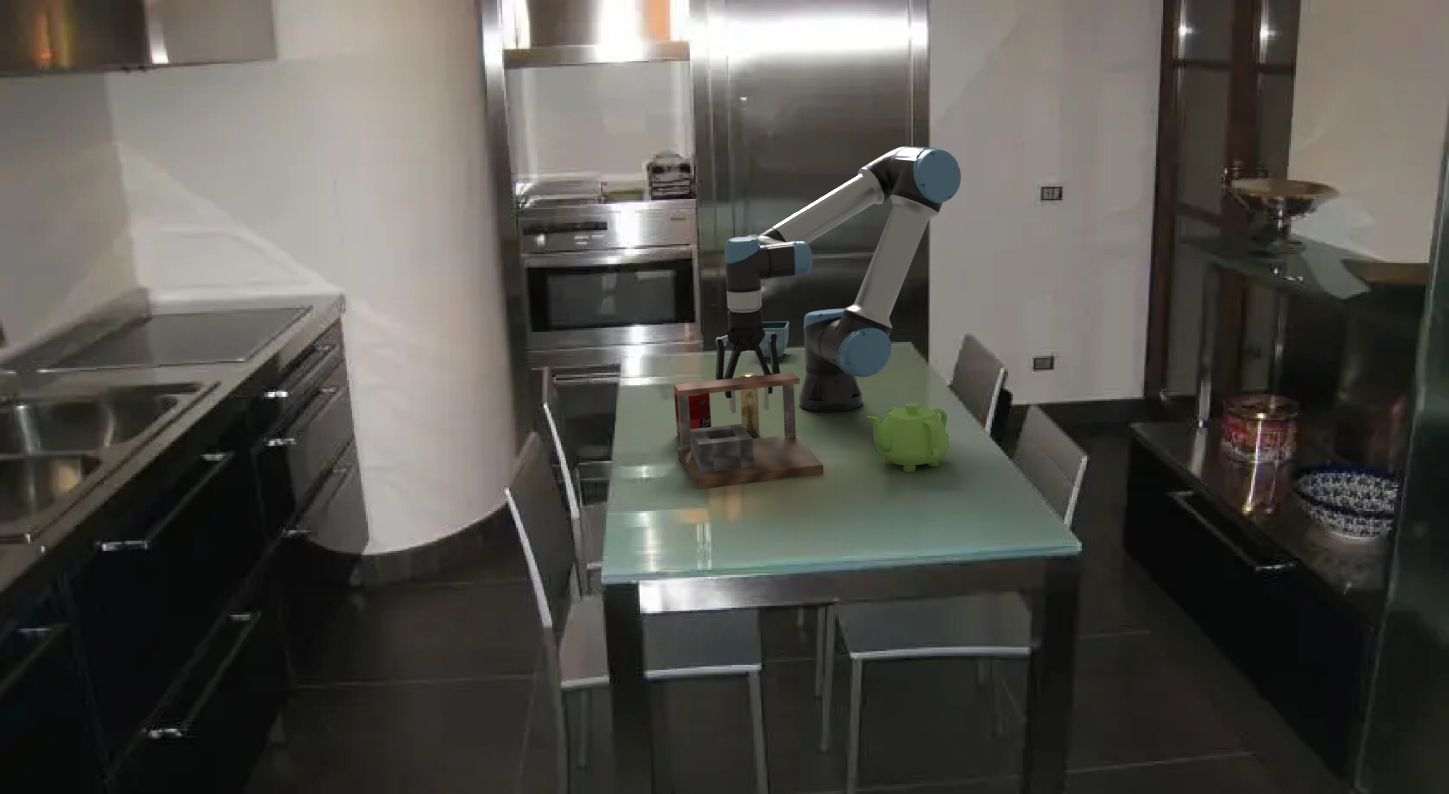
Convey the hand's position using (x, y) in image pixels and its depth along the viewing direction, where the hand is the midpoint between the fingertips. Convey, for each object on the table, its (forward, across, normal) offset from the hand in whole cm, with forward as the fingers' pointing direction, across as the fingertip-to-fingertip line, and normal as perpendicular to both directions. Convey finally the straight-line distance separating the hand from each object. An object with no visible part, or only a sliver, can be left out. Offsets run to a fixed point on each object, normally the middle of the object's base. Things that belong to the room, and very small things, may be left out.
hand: (749, 409), depth 275 cm
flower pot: (+6, -23, -72) cm, 76 cm away
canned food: (+6, +12, -5) cm, 14 cm away
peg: (+6, 0, 0) cm, 6 cm away
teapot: (+6, -26, +31) cm, 41 cm away
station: (+6, +5, +20) cm, 21 cm away
